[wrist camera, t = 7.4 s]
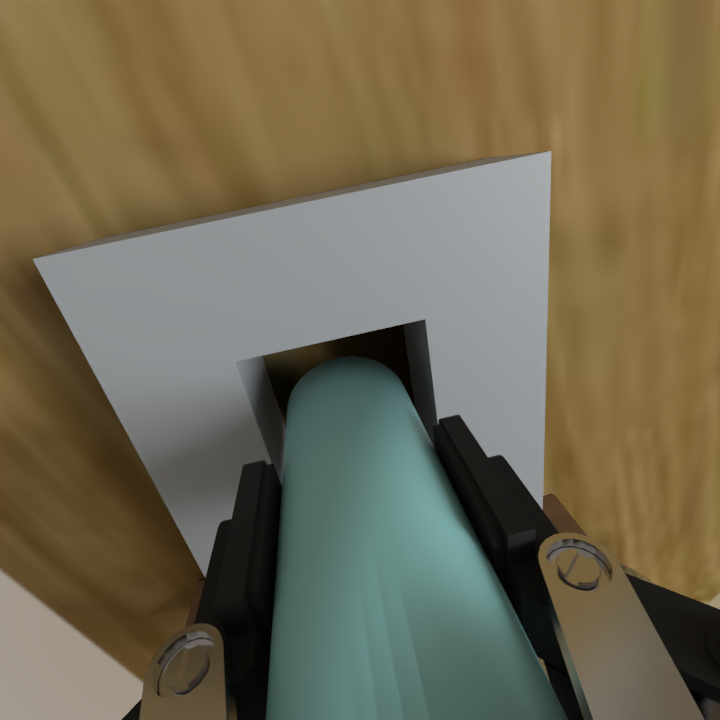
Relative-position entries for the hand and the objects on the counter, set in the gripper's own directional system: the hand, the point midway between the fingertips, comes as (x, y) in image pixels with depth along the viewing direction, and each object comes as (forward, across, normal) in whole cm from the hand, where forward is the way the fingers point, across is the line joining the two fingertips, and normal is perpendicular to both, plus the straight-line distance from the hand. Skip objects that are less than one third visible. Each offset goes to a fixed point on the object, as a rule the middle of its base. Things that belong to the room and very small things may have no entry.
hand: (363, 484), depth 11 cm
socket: (+7, 0, +2) cm, 7 cm away
